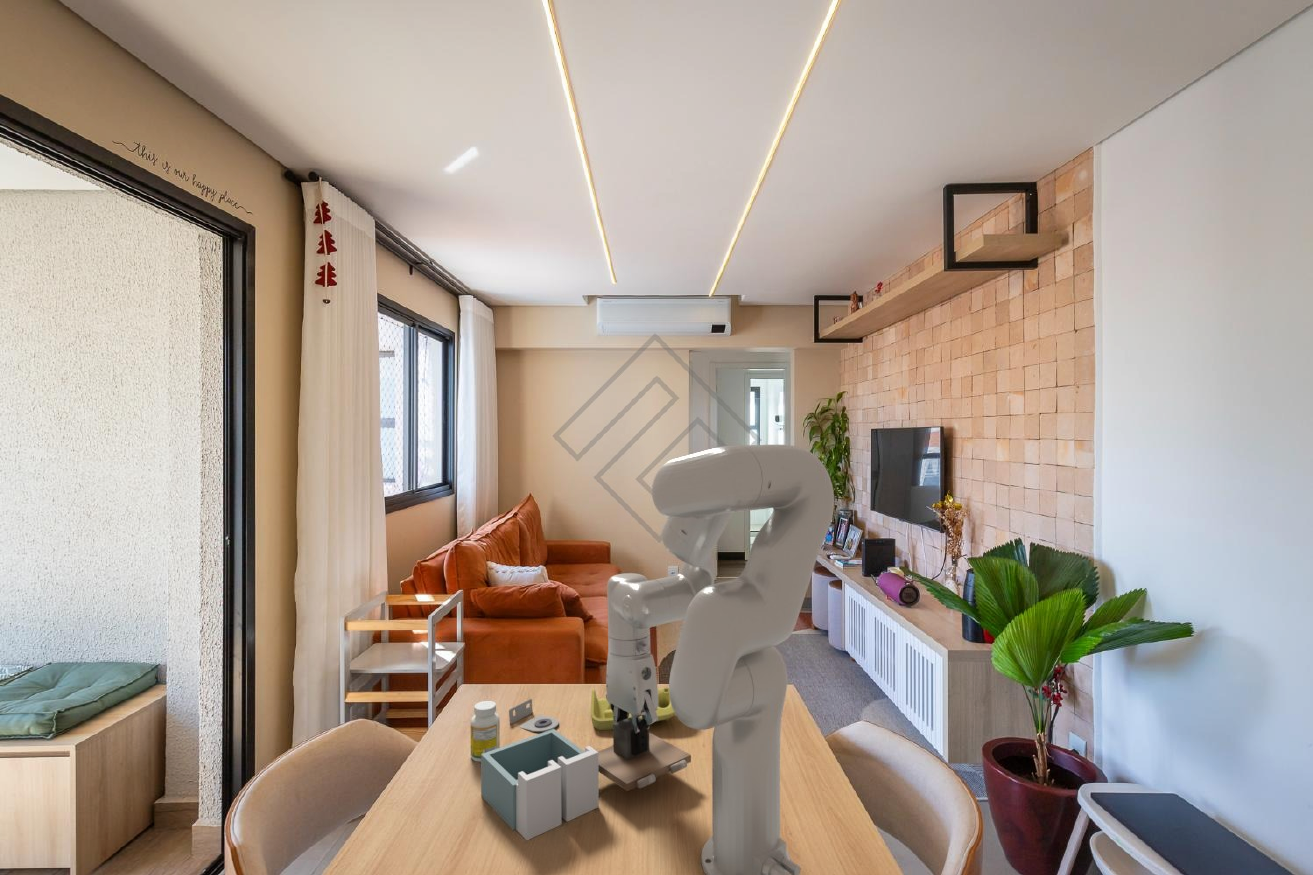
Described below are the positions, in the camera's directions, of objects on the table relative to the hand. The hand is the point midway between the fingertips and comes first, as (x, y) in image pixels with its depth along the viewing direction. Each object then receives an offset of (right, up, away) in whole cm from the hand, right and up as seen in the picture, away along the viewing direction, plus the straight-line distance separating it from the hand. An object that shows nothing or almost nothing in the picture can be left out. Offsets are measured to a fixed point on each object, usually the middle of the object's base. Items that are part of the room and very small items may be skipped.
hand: (631, 746), depth 109 cm
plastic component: (0, -6, +22) cm, 23 cm away
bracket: (-21, -6, +21) cm, 31 cm away
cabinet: (-15, -5, -7) cm, 17 cm away
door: (+1, -2, -2) cm, 3 cm away
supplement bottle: (-28, -6, +8) cm, 30 cm away
